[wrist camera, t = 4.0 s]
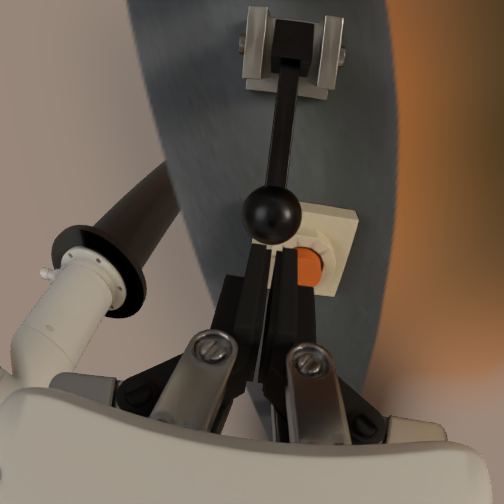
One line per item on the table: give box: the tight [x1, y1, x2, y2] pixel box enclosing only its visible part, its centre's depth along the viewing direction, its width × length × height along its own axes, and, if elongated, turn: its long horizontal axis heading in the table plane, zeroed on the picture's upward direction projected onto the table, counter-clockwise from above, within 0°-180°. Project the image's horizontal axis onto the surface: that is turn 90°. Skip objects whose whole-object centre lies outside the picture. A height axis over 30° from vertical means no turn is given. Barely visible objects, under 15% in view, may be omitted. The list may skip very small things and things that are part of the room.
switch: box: [242, 19, 315, 245], centre depth 15 cm, size 13×3×3 cm, turn 173°
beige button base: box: [252, 202, 359, 297], centre depth 30 cm, size 10×10×4 cm
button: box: [294, 248, 322, 287], centre depth 28 cm, size 4×4×2 cm
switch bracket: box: [239, 6, 345, 100], centre depth 17 cm, size 7×7×11 cm
